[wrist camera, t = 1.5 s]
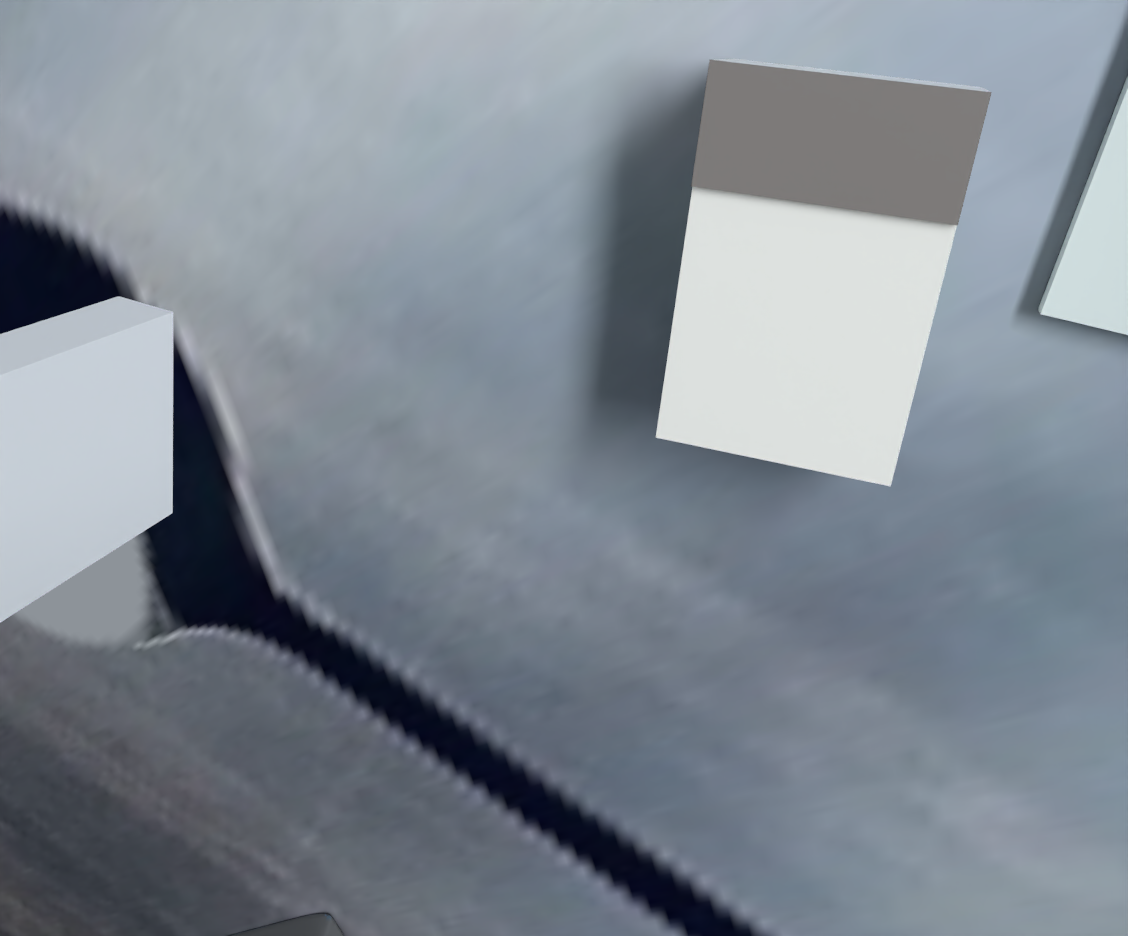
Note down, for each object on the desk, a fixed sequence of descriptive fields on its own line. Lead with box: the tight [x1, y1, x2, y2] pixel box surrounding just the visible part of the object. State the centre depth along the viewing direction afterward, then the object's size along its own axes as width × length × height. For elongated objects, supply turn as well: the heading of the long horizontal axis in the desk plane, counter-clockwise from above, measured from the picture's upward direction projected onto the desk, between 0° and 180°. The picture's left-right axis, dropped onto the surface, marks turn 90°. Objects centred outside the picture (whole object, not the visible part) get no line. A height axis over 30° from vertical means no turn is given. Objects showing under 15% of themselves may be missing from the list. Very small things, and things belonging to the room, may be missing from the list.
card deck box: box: [656, 59, 991, 486], centre depth 28 cm, size 10×6×4 cm, turn 174°
